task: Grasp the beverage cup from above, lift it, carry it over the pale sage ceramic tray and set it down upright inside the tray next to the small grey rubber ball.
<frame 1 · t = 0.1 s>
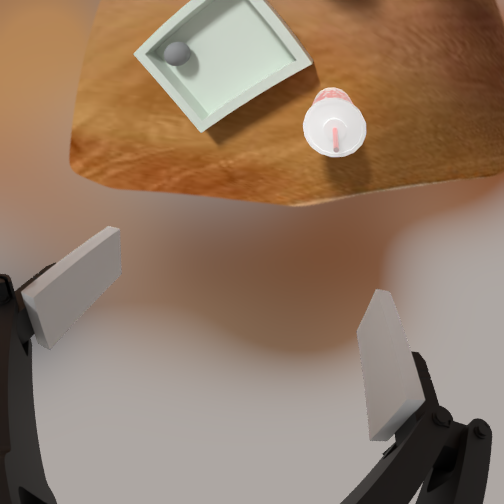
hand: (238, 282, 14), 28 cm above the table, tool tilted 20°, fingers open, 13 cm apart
ball: (182, 52, 30), point 1 cm above the table, touching tray
beverage cup: (332, 104, 32), on the table
tray: (224, 49, 30), on the table
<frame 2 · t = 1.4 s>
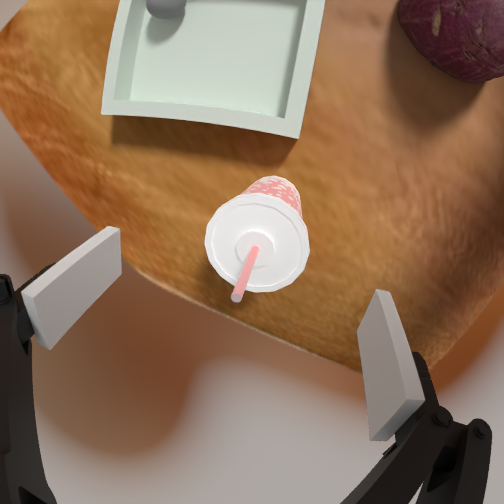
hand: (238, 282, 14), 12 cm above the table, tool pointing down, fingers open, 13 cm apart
ball: (174, 7, 18), point 1 cm above the table, touching tray
beverage cup: (273, 201, 25), on the table
tray: (216, 40, 20), on the table
vegetable: (451, 28, 15), on the table
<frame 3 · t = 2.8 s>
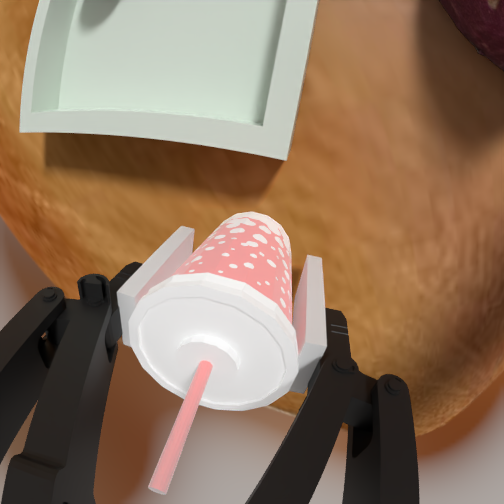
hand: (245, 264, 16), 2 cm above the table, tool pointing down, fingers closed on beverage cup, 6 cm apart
beverage cup: (252, 247, 18), on the table, touching gripper
tray: (168, 16, 12), on the table
vegetable: (496, 7, 8), on the table
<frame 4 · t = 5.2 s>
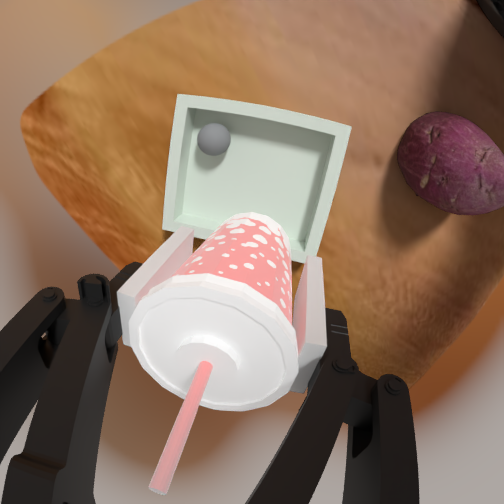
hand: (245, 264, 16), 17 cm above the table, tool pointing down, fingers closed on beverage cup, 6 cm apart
ball: (218, 138, 28), point 1 cm above the table, touching tray
beverage cup: (252, 248, 18), point 14 cm above the table, touching gripper
tray: (253, 172, 30), on the table
vegetable: (439, 158, 26), on the table
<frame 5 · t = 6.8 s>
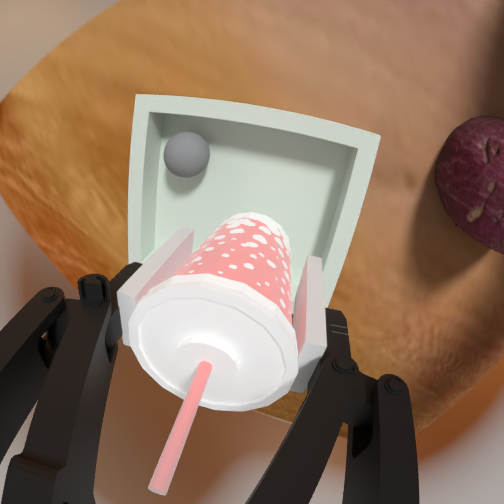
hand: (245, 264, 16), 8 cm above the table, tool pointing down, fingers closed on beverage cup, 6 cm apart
ball: (194, 151, 21), point 1 cm above the table, touching tray
beverage cup: (252, 248, 18), point 6 cm above the table, touching gripper
tray: (243, 196, 23), on the table
vegetable: (484, 177, 18), on the table
when the fingers open (4 cm above the table, at t = 7.9 s): beverage cup drops 1 cm, resting on tray.
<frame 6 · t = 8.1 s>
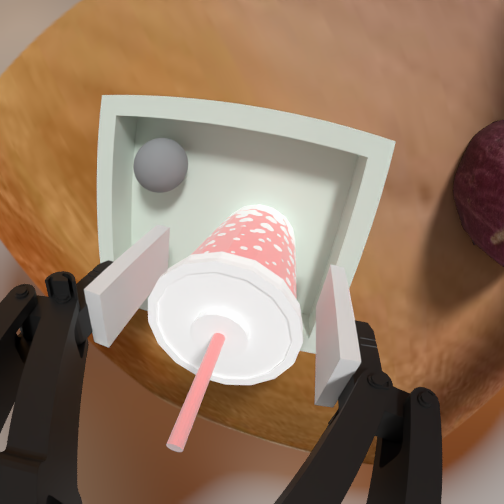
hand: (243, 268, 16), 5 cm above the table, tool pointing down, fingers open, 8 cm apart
ball: (171, 160, 18), point 1 cm above the table, touching tray
beverage cup: (258, 238, 19), point 1 cm above the table, touching tray
tray: (230, 212, 20), on the table
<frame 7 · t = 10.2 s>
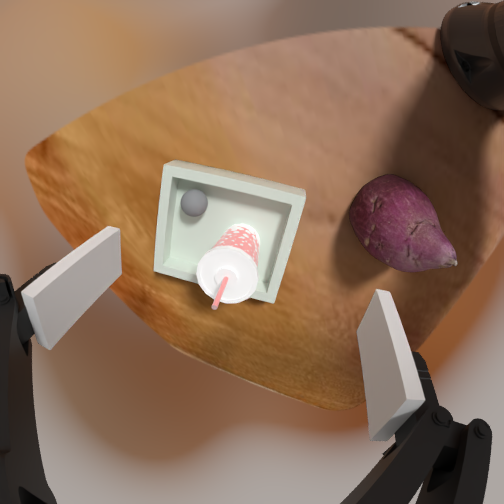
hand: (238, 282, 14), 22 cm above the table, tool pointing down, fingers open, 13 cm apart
ball: (198, 199, 36), point 1 cm above the table, touching tray
beverage cup: (241, 240, 37), point 1 cm above the table, touching tray
tray: (227, 226, 38), on the table
vegetable: (388, 214, 34), on the table
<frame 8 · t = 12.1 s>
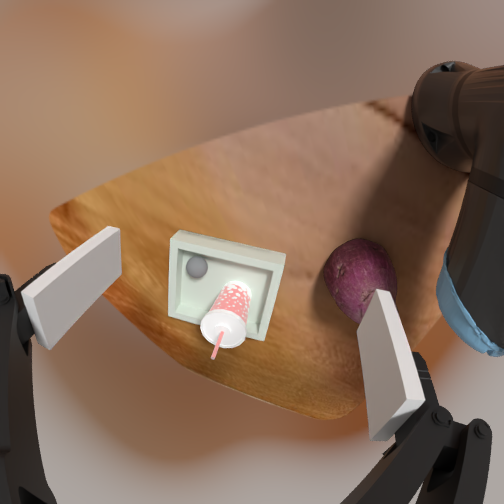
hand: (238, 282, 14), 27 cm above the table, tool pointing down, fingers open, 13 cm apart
ball: (200, 262, 45), point 1 cm above the table, touching tray
beverage cup: (236, 292, 46), point 1 cm above the table, touching tray
tray: (225, 281, 47), on the table
vegetable: (358, 269, 42), on the table
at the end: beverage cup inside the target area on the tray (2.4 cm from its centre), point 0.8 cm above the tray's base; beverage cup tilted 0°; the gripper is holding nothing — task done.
